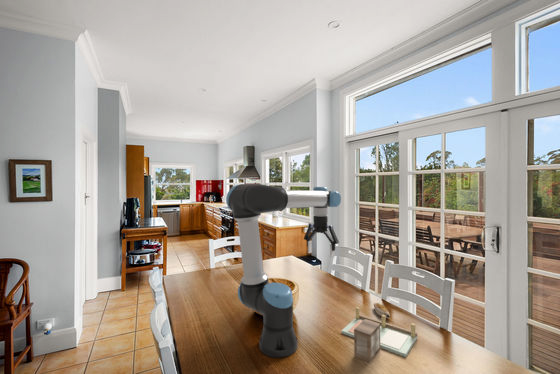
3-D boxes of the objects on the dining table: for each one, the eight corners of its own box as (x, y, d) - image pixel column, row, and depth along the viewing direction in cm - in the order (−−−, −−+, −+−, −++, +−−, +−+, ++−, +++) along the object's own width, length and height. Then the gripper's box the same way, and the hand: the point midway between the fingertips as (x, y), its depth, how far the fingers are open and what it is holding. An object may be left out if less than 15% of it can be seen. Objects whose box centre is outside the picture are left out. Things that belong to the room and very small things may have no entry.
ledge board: (417, 338, 113) (417, 323, 113) (405, 357, 101) (405, 340, 101) (357, 318, 130) (357, 305, 130) (341, 333, 118) (341, 318, 118)
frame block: (370, 362, 98) (369, 335, 98) (354, 356, 102) (353, 329, 102) (380, 349, 106) (380, 323, 106) (365, 343, 110) (365, 318, 110)
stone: (380, 307, 142) (380, 299, 142) (393, 321, 128) (392, 312, 128) (370, 307, 142) (370, 299, 142) (381, 321, 127) (381, 312, 127)
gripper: (345, 216, 143) (345, 256, 143) (304, 213, 159) (305, 250, 159) (338, 217, 137) (338, 260, 137) (297, 214, 153) (297, 252, 153)
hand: (320, 254), depth 148 cm, fingers open, 13 cm apart
